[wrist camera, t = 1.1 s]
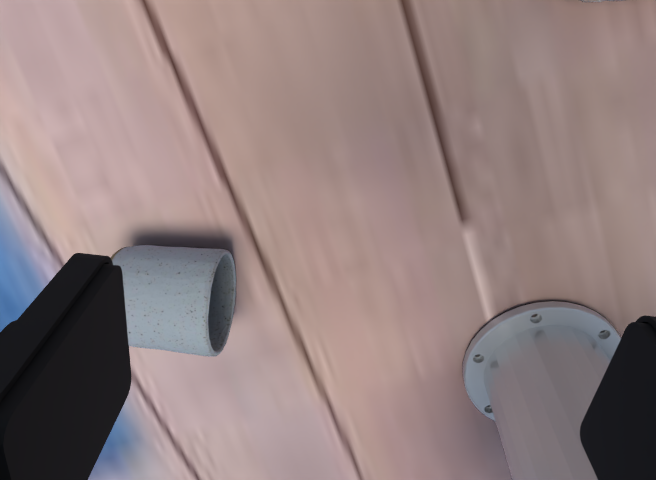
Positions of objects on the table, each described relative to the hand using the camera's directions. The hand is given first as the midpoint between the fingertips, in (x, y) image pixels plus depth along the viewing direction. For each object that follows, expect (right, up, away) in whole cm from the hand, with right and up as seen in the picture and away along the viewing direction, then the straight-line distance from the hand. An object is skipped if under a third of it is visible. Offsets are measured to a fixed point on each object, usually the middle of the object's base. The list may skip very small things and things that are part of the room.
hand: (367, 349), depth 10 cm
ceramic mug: (-12, -2, +33) cm, 35 cm away
